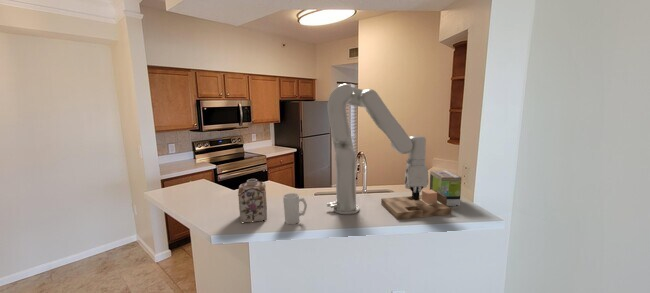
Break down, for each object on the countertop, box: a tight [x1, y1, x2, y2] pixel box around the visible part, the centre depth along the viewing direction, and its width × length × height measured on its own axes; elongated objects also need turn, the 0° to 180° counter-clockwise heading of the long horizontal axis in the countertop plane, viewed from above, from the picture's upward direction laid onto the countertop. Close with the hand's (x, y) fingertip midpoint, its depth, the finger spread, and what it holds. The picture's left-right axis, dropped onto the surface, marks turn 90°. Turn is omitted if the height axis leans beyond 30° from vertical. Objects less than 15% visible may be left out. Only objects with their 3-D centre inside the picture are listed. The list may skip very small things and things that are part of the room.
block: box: [421, 189, 437, 204], centre depth 126 cm, size 5×5×5 cm
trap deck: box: [380, 189, 452, 220], centre depth 125 cm, size 26×19×7 cm
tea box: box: [429, 170, 462, 207], centre depth 134 cm, size 15×10×15 cm, turn 179°
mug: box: [282, 192, 308, 225], centre depth 115 cm, size 10×7×12 cm, turn 90°
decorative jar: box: [237, 178, 268, 224], centre depth 120 cm, size 12×12×18 cm
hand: (415, 199), depth 125 cm, fingers closed
